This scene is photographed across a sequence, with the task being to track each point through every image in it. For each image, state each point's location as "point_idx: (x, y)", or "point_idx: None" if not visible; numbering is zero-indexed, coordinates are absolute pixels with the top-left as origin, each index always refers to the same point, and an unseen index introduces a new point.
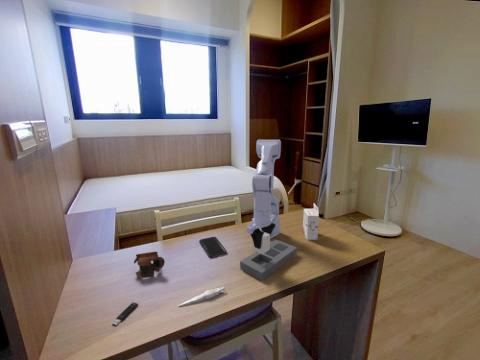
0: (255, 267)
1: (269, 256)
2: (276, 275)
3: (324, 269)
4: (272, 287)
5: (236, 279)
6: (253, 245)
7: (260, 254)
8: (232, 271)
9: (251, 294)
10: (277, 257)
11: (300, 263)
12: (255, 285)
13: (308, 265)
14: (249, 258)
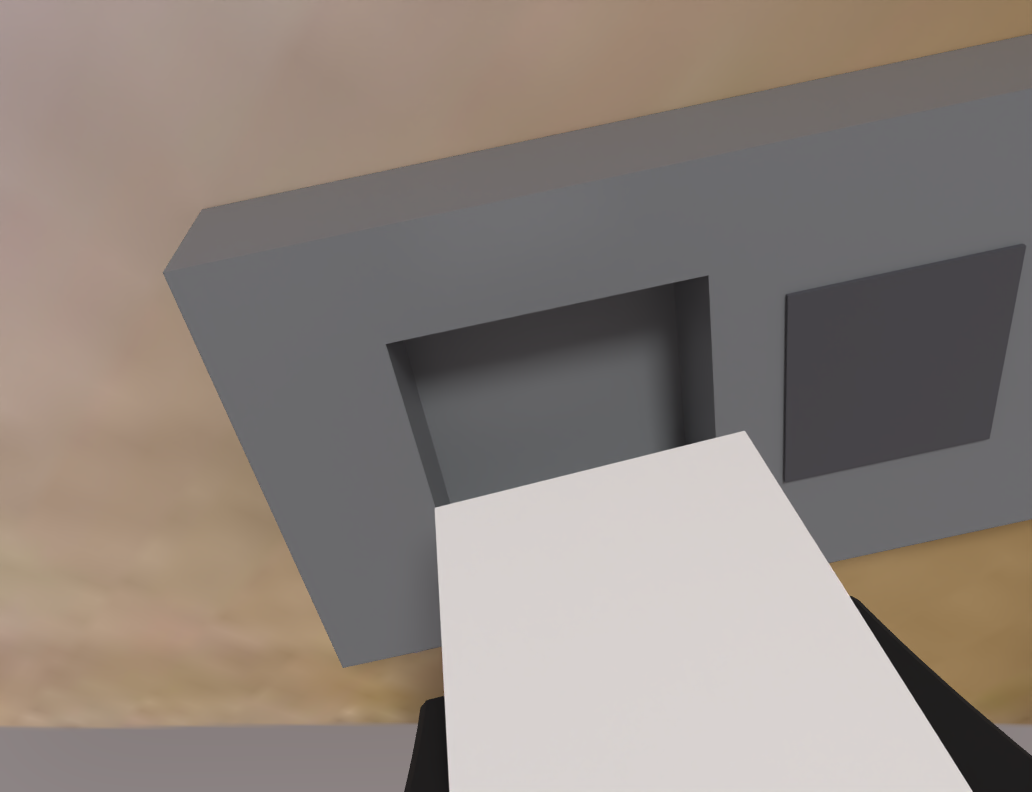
0: (335, 546)
1: (750, 435)
2: None
3: (1019, 701)
4: (386, 681)
5: (22, 401)
6: (446, 641)
7: (700, 272)
8: (25, 195)
9: (107, 670)
10: (816, 514)
11: (983, 547)
12: (228, 594)
13: (997, 606)
14: (404, 293)
